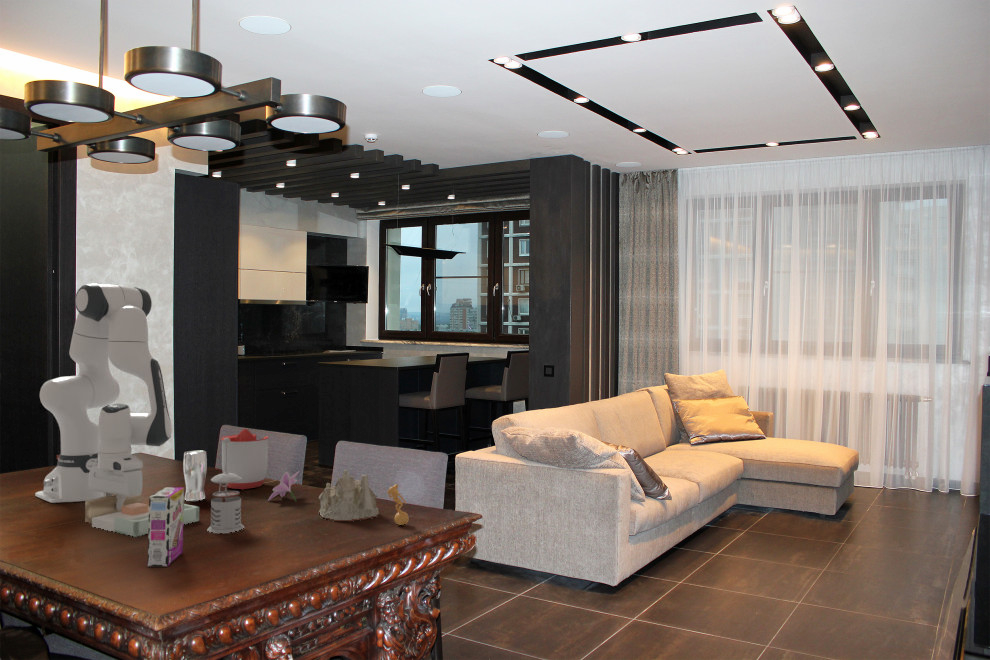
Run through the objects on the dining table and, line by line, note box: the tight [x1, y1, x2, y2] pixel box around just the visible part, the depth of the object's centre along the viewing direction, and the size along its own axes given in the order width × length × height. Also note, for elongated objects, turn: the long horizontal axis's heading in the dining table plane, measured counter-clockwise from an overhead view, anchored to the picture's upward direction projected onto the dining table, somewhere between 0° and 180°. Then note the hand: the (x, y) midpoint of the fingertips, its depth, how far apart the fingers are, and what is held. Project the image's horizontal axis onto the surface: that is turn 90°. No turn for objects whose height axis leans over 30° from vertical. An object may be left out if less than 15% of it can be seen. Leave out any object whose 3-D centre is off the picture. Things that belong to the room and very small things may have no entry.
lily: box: [267, 470, 300, 502], centre depth 246 cm, size 12×12×10 cm
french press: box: [206, 438, 245, 534], centre depth 213 cm, size 10×12×25 cm
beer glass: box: [182, 450, 208, 502], centre depth 246 cm, size 7×7×15 cm
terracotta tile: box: [122, 502, 149, 516], centre depth 218 cm, size 5×5×2 cm
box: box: [113, 503, 200, 538], centre depth 213 cm, size 9×20×4 cm, turn 150°
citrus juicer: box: [220, 428, 270, 491], centre depth 266 cm, size 16×17×20 cm
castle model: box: [318, 469, 380, 520], centre depth 229 cm, size 16×16×15 cm
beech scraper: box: [84, 491, 143, 524], centre depth 223 cm, size 2×16×6 cm, turn 150°
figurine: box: [387, 483, 410, 526], centre depth 217 cm, size 8×6×12 cm
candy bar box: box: [147, 486, 185, 568], centre depth 184 cm, size 11×5×16 cm, turn 5°
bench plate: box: [91, 511, 149, 533], centre depth 218 cm, size 10×20×2 cm, turn 150°
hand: (114, 508), depth 223 cm, fingers closed on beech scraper, 2 cm apart
